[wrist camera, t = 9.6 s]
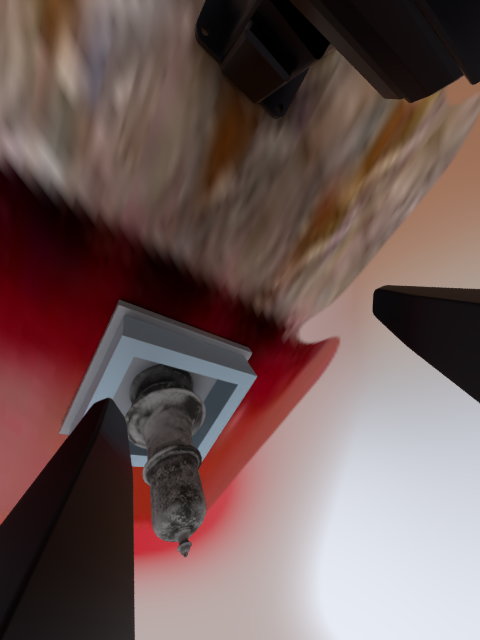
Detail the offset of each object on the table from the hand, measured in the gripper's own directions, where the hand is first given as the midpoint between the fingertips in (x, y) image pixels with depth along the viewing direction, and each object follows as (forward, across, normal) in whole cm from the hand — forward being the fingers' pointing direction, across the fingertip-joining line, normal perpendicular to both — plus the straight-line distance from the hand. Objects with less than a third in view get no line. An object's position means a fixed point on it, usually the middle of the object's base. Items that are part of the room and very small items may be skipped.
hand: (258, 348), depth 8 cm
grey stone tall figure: (+12, +6, +10) cm, 17 cm away
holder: (+13, +6, +10) cm, 17 cm away
